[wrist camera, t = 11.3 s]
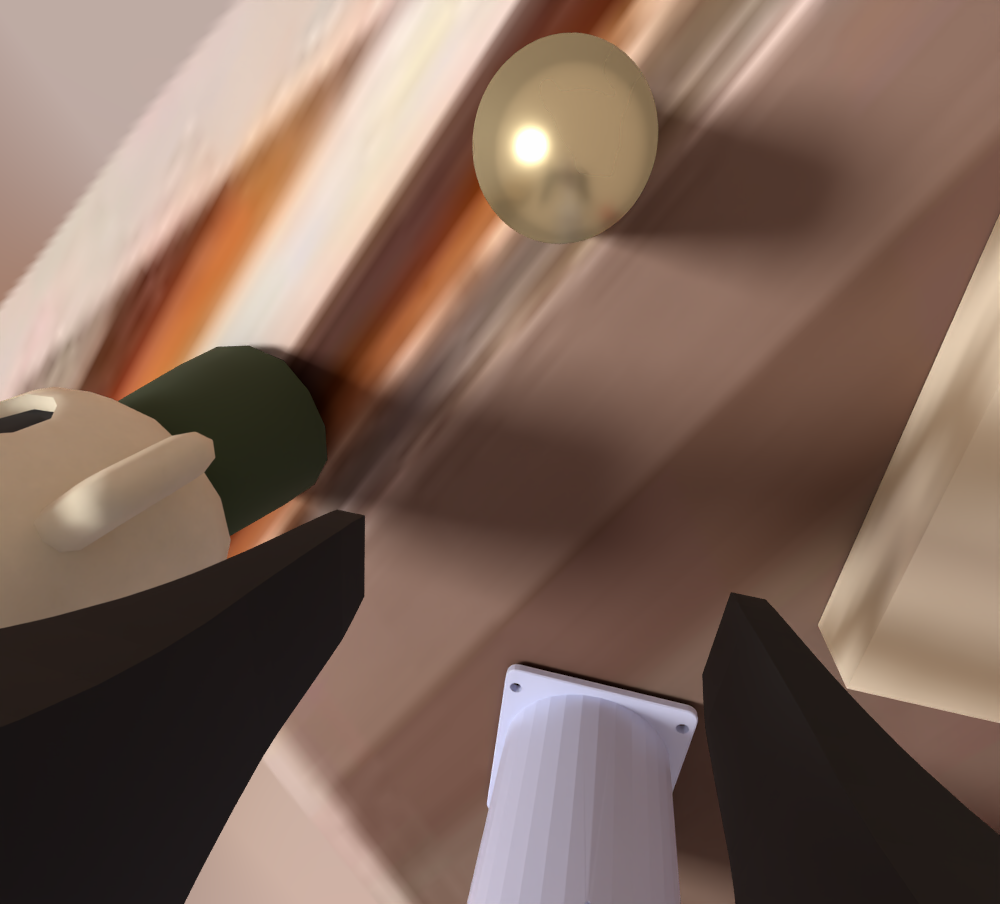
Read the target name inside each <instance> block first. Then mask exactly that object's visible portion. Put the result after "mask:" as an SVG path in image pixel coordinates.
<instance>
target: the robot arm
mask: <svg viewBox="0 0 1000 904" xmlns="http://www.w3.org/2000/svg"><path fill="white" fill-rule="evenodd" d="M364 558H365V515H360V514H355V513H350V512H345V511H341V510H335V511H332V512H330V513H327V514H325V515H323V516H320V517H318V518H316V519H314V520H312V521H309V522H307V523H305V524H303V525H301V526H299V527H297V528H295V529H292V530H290V531H288V532H286V533H284V534H282V535H280V536H278V537H275V538H273V539H271V540H269V541H267V542H265V543H263V544H260V545H258V546H256V547H254V548H252V549H250V550H247V551H245V552H243V553H240V554H238V555H236V556H233V557H231V558H228V559H226V560H224V561H221V562H219V563H216V564H214V565H212V566H209V567H207V568H205V569H202V570H200V571H197V572H195V573H192V574H190V575H187V576H185V577H182V578H179V579H176V580H174V581H171V582H168V583H165V584H163V585H160V586H157V587H154V588H151V589H148V590H145V591H142V592H139V593H136V594H133V595H129V596H126V597H123V598H120V599H116V600H112V601H109V602H105V603H101V604H98V605H94V606H90V607H87V608H83V609H79V610H76V611H72V612H68V613H65V614H61V615H57V616H54V617H49V618H45V619H41V620H37V621H32V622H28V623H23V624H19V625H14V626H10V627H5V628H0V904H184V903H185V901H186V899H187V897H188V895H189V893H190V891H191V889H192V887H193V885H194V883H195V881H196V879H197V877H198V875H199V873H200V871H201V869H202V867H203V865H204V863H205V861H206V860H207V858H208V856H209V854H210V852H211V850H212V848H213V846H214V845H215V843H216V841H217V839H218V837H219V835H220V833H221V831H222V830H223V827H224V826H225V824H226V822H227V820H228V818H229V816H230V814H231V813H232V810H233V809H234V807H235V805H236V804H237V802H238V800H239V798H240V796H241V794H242V793H243V791H244V789H245V787H246V786H247V784H248V782H249V780H250V779H251V777H252V775H253V773H254V771H255V770H256V768H257V766H258V764H259V762H260V761H261V759H262V757H263V755H264V754H265V752H266V751H267V749H268V748H269V746H270V744H271V743H272V741H273V740H274V738H275V737H276V735H277V733H278V732H279V731H280V729H281V728H282V726H283V725H284V723H285V722H286V720H287V719H288V718H289V716H290V715H291V713H292V712H293V710H294V709H295V708H296V706H297V705H298V703H299V702H300V700H301V699H302V697H303V696H304V695H305V693H306V692H307V690H308V689H309V687H310V686H311V684H312V683H313V682H314V680H315V679H316V677H317V676H318V674H319V673H320V671H321V670H322V669H323V667H324V666H325V664H326V663H327V661H328V660H329V658H330V657H331V655H332V654H333V652H334V651H335V649H336V648H337V646H338V645H339V643H340V642H341V640H342V639H343V637H344V635H345V633H346V631H347V630H348V628H349V626H350V624H351V622H352V620H353V618H354V616H355V614H356V612H357V610H358V608H359V606H360V604H361V602H362V600H363V598H364ZM702 678H703V701H704V716H705V729H706V735H707V741H708V746H709V752H710V757H711V763H712V768H713V774H714V779H715V784H716V790H717V795H718V800H719V806H720V811H721V816H722V822H723V827H724V832H725V837H726V843H727V848H728V853H729V859H730V866H731V872H732V879H733V886H734V894H735V904H1000V835H998V834H997V833H996V832H995V831H994V830H993V829H991V828H990V827H989V826H988V825H987V824H985V823H984V822H983V821H982V820H981V819H980V818H978V817H977V816H976V815H975V814H974V813H972V812H971V811H970V810H969V809H968V808H967V807H966V806H964V805H963V804H962V803H961V802H960V801H959V800H958V799H957V798H956V797H954V796H953V795H952V794H951V793H950V792H949V791H948V790H947V789H946V788H944V787H943V786H942V785H941V784H940V783H939V782H938V781H937V780H936V779H934V778H933V777H932V776H931V775H930V774H929V773H928V772H927V771H926V770H925V769H923V768H922V767H921V766H920V765H919V764H918V763H917V762H916V761H915V760H914V759H913V758H912V757H911V756H910V755H909V754H908V753H907V752H905V751H904V750H903V749H902V748H901V747H900V746H899V745H898V744H897V743H896V742H895V741H894V740H893V739H892V738H891V737H890V736H889V735H888V734H887V733H886V732H885V731H884V730H883V729H882V728H881V727H880V726H879V724H878V723H877V722H876V721H875V720H874V719H873V718H872V717H871V716H870V715H869V714H868V713H867V712H866V711H865V710H864V709H863V708H862V707H861V706H860V705H859V704H858V703H857V702H856V701H855V700H854V699H853V697H852V696H851V695H850V694H849V693H848V692H847V691H846V690H845V689H844V688H843V687H842V686H841V684H840V683H839V682H838V681H837V680H836V679H835V678H834V677H833V676H832V674H831V673H830V672H829V671H828V670H827V669H826V668H825V667H824V665H823V664H822V663H821V662H820V661H819V660H818V659H817V658H816V656H815V655H814V654H813V653H812V652H811V651H810V649H809V648H808V647H807V646H806V645H805V644H804V643H803V641H802V640H801V639H800V638H799V637H798V636H797V634H796V633H795V632H794V631H793V630H792V629H791V627H790V626H789V625H788V624H787V623H786V622H785V620H784V619H783V618H782V617H781V616H780V615H779V614H778V612H777V611H776V610H775V609H774V608H773V607H772V606H771V605H770V604H769V603H768V602H767V601H766V600H765V599H760V598H756V597H751V596H746V595H741V594H737V593H732V592H731V594H730V597H729V599H728V602H727V605H726V608H725V611H724V614H723V617H722V620H721V622H720V625H719V628H718V631H717V634H716V637H715V640H714V643H713V645H712V648H711V651H710V654H709V657H708V660H707V663H706V666H705V668H704V671H703V674H702ZM513 683H517V684H519V685H515V684H513ZM697 723H698V715H697V712H696V710H695V709H694V708H693V707H692V706H689V705H686V704H682V703H678V702H674V701H670V700H665V699H661V698H657V697H653V696H649V695H645V694H640V693H636V692H632V691H628V690H624V689H620V688H616V687H611V686H607V685H603V684H599V683H595V682H591V681H586V680H582V679H578V678H574V677H570V676H566V675H562V674H557V673H553V672H549V671H545V670H541V669H537V668H532V667H528V666H524V665H520V664H514V665H511V666H510V667H509V668H508V670H507V674H506V679H505V686H504V693H503V699H502V706H501V713H500V719H499V726H498V733H497V739H496V746H495V753H494V760H493V766H492V773H491V780H490V786H489V793H488V800H487V806H488V808H489V811H488V815H487V819H486V824H485V828H484V832H483V837H482V841H481V845H480V849H479V854H478V858H477V862H476V867H475V871H474V875H473V880H472V884H471V888H470V893H469V897H468V901H467V904H681V899H680V886H679V873H678V860H677V847H676V834H675V821H674V809H673V796H672V793H673V790H674V787H675V784H676V781H677V779H678V776H679V773H680V770H681V768H682V765H683V762H684V759H685V757H686V754H687V751H688V748H689V745H690V743H691V740H692V737H693V734H694V732H695V729H696V726H697ZM680 724H684V726H680Z"/></svg>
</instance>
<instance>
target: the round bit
mask: <svg viewBox="0 0 1000 904" xmlns="http://www.w3.org/2000/svg"><path fill="white" fill-rule="evenodd" d="M657 144H658V119H657V111H656V107H655V102H654V98H653V96H652V93H651V90H650V88H649V85H648V83H647V81H646V79H645V77H644V76H643V74H642V72H641V71H640V69H639V68H638V67H637V65H636V64H635V63H634V62H633V61H632V60H631V59H630V58H629V56H628V55H627V54H626V53H625V52H623V51H622V50H620V49H619V48H618V47H616V46H615V45H613V44H612V43H610V42H608V41H606V40H604V39H602V38H598V37H595V36H592V35H588V34H582V33H561V34H555V35H550V36H547V37H544V38H541V39H538V40H536V41H534V42H532V43H530V44H528V45H527V46H525V47H524V48H522V49H521V50H519V51H518V52H516V53H515V54H514V55H513V56H512V57H511V58H510V59H508V60H507V61H506V62H505V63H504V65H503V66H502V67H501V68H500V69H499V70H498V72H497V73H496V74H495V76H494V77H493V79H492V80H491V82H490V83H489V85H488V87H487V89H486V91H485V93H484V95H483V97H482V100H481V102H480V105H479V108H478V111H477V115H476V119H475V124H474V131H473V160H474V166H475V171H476V176H477V179H478V182H479V185H480V188H481V190H482V192H483V194H484V196H485V198H486V200H487V201H488V203H489V205H490V206H491V208H492V209H493V210H494V212H495V213H496V214H497V215H498V216H499V218H500V219H501V220H503V221H504V222H505V223H506V224H507V225H508V226H509V227H511V228H512V229H514V230H515V231H516V232H518V233H520V234H522V235H524V236H526V237H528V238H530V239H533V240H536V241H540V242H545V243H551V244H567V243H574V242H579V241H583V240H586V239H589V238H591V237H594V236H596V235H598V234H600V233H602V232H604V231H605V230H607V229H608V228H610V227H611V226H612V225H614V224H615V223H616V222H618V221H619V220H620V219H621V218H622V217H623V216H624V215H625V214H626V213H627V212H628V211H629V210H630V208H631V207H632V206H633V205H634V203H635V202H636V201H637V199H638V198H639V196H640V195H641V193H642V191H643V189H644V187H645V185H646V183H647V182H648V179H649V176H650V174H651V171H652V168H653V165H654V161H655V157H656V151H657Z"/></svg>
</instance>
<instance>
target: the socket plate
mask: <svg viewBox="0 0 1000 904" xmlns="http://www.w3.org/2000/svg"><path fill="white" fill-rule="evenodd" d="M818 627H819V629H820V631H821V633H822V635H823V638H824V640H825V642H826V644H827V646H828V648H829V651H830V653H831V655H832V657H833V659H834V661H835V664H836V666H837V668H838V670H839V672H840V675H841V677H842V679H843V681H844V683H845V685H846V688H848V689H852V690H856V691H861V692H865V693H870V694H874V695H878V696H883V697H887V698H892V699H896V700H900V701H905V702H909V703H914V704H918V705H922V706H927V707H931V708H936V709H940V710H944V711H949V712H953V713H958V714H962V715H966V716H971V717H975V718H980V719H984V720H988V721H993V722H997V723H1000V215H999V217H998V219H997V221H996V224H995V226H994V228H993V231H992V233H991V235H990V237H989V240H988V242H987V244H986V246H985V249H984V251H983V253H982V255H981V258H980V260H979V262H978V264H977V267H976V269H975V271H974V273H973V276H972V278H971V280H970V283H969V285H968V287H967V289H966V292H965V294H964V296H963V298H962V301H961V303H960V305H959V307H958V310H957V312H956V314H955V316H954V319H953V321H952V323H951V325H950V328H949V330H948V332H947V335H946V337H945V339H944V341H943V344H942V346H941V348H940V350H939V353H938V355H937V357H936V359H935V362H934V364H933V366H932V368H931V371H930V373H929V375H928V377H927V380H926V382H925V384H924V386H923V389H922V391H921V393H920V396H919V398H918V400H917V402H916V405H915V407H914V409H913V411H912V414H911V416H910V418H909V420H908V423H907V425H906V427H905V429H904V432H903V434H902V436H901V438H900V441H899V443H898V445H897V448H896V450H895V452H894V454H893V457H892V459H891V461H890V463H889V466H888V468H887V470H886V472H885V475H884V477H883V479H882V481H881V484H880V486H879V488H878V490H877V493H876V495H875V497H874V500H873V502H872V504H871V506H870V509H869V511H868V513H867V515H866V518H865V520H864V522H863V524H862V527H861V529H860V531H859V533H858V536H857V538H856V540H855V542H854V545H853V547H852V549H851V551H850V554H849V556H848V558H847V561H846V563H845V565H844V567H843V570H842V572H841V574H840V576H839V579H838V581H837V583H836V585H835V588H834V590H833V592H832V594H831V597H830V599H829V601H828V603H827V606H826V608H825V610H824V613H823V615H822V617H821V619H820V622H819V624H818Z"/></svg>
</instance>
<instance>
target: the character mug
mask: <svg viewBox="0 0 1000 904" xmlns="http://www.w3.org/2000/svg"><path fill="white" fill-rule="evenodd" d="M326 461H327V448H326V432H325V425H324V423H323V421H322V419H321V417H320V414H319V412H318V410H317V408H316V406H315V403H314V401H313V399H312V397H311V395H310V392H309V391H308V389H307V388H306V387H305V386H304V385H303V383H302V382H301V381H300V380H299V379H298V377H297V376H296V375H295V374H294V373H293V371H292V370H291V369H290V368H289V367H288V365H287V364H286V363H285V362H284V361H283V360H281V359H279V358H276V357H274V356H272V355H269V354H267V353H265V352H262V351H260V350H258V349H255V348H253V347H251V346H228V347H216V348H214V349H212V350H210V351H208V352H206V353H204V354H202V355H200V356H197V357H195V358H193V359H191V360H189V361H187V362H185V363H183V364H181V365H179V366H177V367H176V368H174V369H172V370H171V371H169V372H167V373H165V374H164V375H162V376H160V377H159V378H157V379H155V380H153V381H152V382H150V383H148V384H147V385H145V386H143V387H141V388H140V389H138V390H136V391H135V392H133V393H131V394H129V395H128V396H126V397H124V398H123V399H121V400H119V401H118V402H117V401H115V400H113V399H110V398H107V397H104V396H101V395H98V394H95V393H92V392H87V391H80V390H73V389H65V388H58V387H51V388H43V389H37V390H33V391H30V392H27V393H24V394H21V395H18V396H15V397H13V398H10V399H7V400H4V401H1V402H0V628H5V627H10V626H14V625H19V624H23V623H28V622H32V621H37V620H41V619H45V618H49V617H54V616H57V615H61V614H65V613H68V612H72V611H76V610H79V609H83V608H87V607H90V606H94V605H98V604H101V603H105V602H109V601H112V600H116V599H120V598H123V597H126V596H129V595H133V594H136V593H139V592H142V591H145V590H148V589H151V588H154V587H157V586H160V585H163V584H165V583H168V582H171V581H174V580H176V579H179V578H182V577H185V576H187V575H190V574H192V573H195V572H197V571H200V570H202V569H205V568H207V567H209V566H212V565H214V564H216V563H219V562H221V561H224V560H226V558H227V554H228V550H229V545H230V541H231V540H230V536H231V535H232V534H234V533H236V532H238V531H239V530H241V529H243V528H245V527H246V526H248V525H250V524H251V523H253V522H255V521H257V520H258V519H260V518H262V517H264V516H265V515H267V514H269V513H271V512H272V511H274V510H276V509H278V508H279V507H281V506H283V505H285V504H286V503H288V502H289V501H291V500H292V499H294V498H295V497H296V496H298V495H299V494H301V493H302V492H304V491H305V490H307V489H308V488H310V487H311V486H313V485H314V484H315V483H316V481H317V479H318V477H319V475H320V473H321V471H322V469H323V467H324V465H325V463H326Z"/></svg>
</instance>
